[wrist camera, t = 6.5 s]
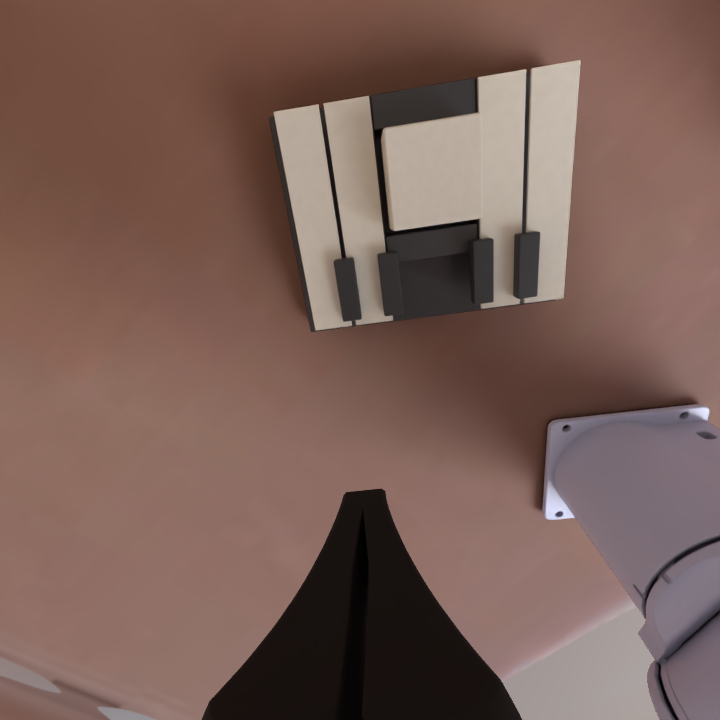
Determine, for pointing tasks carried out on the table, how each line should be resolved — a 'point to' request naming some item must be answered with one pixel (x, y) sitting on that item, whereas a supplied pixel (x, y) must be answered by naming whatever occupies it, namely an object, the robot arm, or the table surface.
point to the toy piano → (425, 244)
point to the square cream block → (433, 171)
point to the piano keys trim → (500, 199)
